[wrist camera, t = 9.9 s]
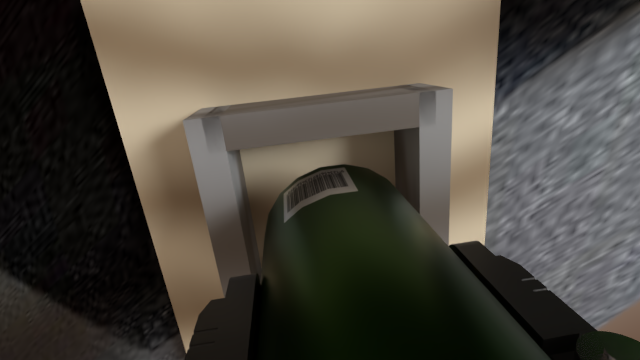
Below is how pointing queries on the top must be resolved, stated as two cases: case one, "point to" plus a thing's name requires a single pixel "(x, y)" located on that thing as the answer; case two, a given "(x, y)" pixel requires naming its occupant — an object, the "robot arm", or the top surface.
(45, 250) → the top surface
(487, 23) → the collar board
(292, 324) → the beer can
